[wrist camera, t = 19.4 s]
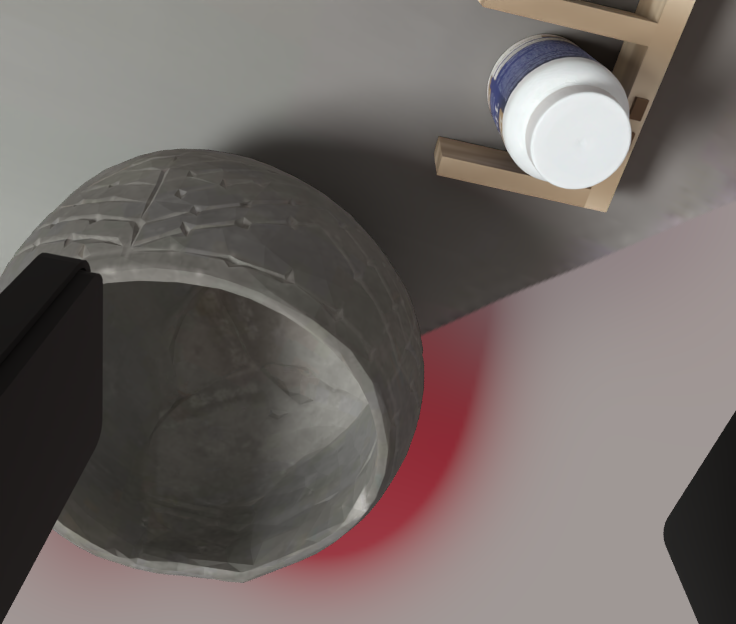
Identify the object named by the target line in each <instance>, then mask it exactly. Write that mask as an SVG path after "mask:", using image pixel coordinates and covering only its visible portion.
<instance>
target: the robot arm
mask: <svg viewBox="0 0 736 624" xmlns="http://www.w3.org/2000/svg"><path fill="white" fill-rule="evenodd" d="M102 414H103V279H102V276H101V275H100V274H99V273H94V272H91V269H90V265H89V263H88V262H87V261H86V260H82V259H77V258H72V257H66V256H61V255H56V254H51V253H41V254H39V255H38V256H37V257H36V258H35V259H34V260H33V261H32V262H31V263H30V264H29V265H28V266H27V267H26V268H25V269H24V270H23V271H22V272H21V273H20V274H19V275H18V276H17V277H16V278H15V279H14V280H13V281H12V282H11V283H10V284H9V285H8V286H7V287H6V288H5V289H4V290H3V291H2V292H1V293H0V624H2V622H3V620H4V618H5V616H6V615H7V613H8V610H9V609H10V607H11V605H12V603H13V601H14V600H15V598H16V596H17V594H18V592H19V590H20V588H21V586H22V585H23V583H24V581H25V579H26V577H27V575H28V573H29V571H30V570H31V568H32V566H33V564H34V562H35V560H36V558H37V557H38V555H39V552H40V551H41V549H42V547H43V545H44V544H45V542H46V540H47V538H48V536H49V534H50V532H51V530H52V529H53V527H54V525H55V523H56V521H57V519H58V517H59V515H60V514H61V512H62V510H63V508H64V506H65V504H66V502H67V501H68V499H69V497H70V495H71V493H72V491H73V489H74V487H75V486H76V484H77V482H78V480H79V478H80V476H81V474H82V473H83V471H84V469H85V467H86V465H87V463H88V461H89V459H90V458H91V456H92V454H93V452H94V450H95V448H96V446H97V444H98V441H99V438H100V434H101V429H102ZM664 541H665V545H666V548H667V550H668V552H669V555H670V557H671V560H672V562H673V564H674V566H675V569H676V571H677V574H678V576H679V578H680V581H681V583H682V585H683V588H684V590H685V592H686V595H687V597H688V599H689V602H690V604H691V607H692V609H693V611H694V614H695V616H696V618H697V621H698V623H699V624H736V411H735V413H734V415H733V416H732V417H731V419H730V421H729V422H728V424H727V425H726V427H725V429H724V431H723V432H722V433H721V435H720V436H719V438H718V440H717V441H716V443H715V444H714V446H713V447H712V449H711V451H710V452H709V454H708V455H707V457H706V458H705V460H704V462H703V463H702V465H701V466H700V468H699V469H698V471H697V473H696V474H695V476H694V477H693V479H692V480H691V482H690V484H689V485H688V487H687V488H686V490H685V491H684V493H683V495H682V496H681V498H680V499H679V501H678V502H677V504H676V506H675V507H674V509H673V510H672V512H671V513H670V515H669V517H668V518H667V520H666V522H665V527H664Z"/></svg>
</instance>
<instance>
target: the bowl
mask: <svg viewBox="0 0 736 624" xmlns="http://www.w3.org/2000/svg"><path fill="white" fill-rule="evenodd" d="M41 253H51V254H56V255H61V256H66V257H72V258H77V259H82V260H86V261H87V262H88V263H89V265H90V269H91V272H94V273H99V274H100V275H101V276H102V279H103V414H102V429H101V434H100V438H99V441H98V444H97V446H96V448H95V450H94V452H93V454H92V456H91V458H90V459H89V461H88V463H87V465H86V467H85V469H84V471H83V473H82V474H81V476H80V478H79V480H78V482H77V484H76V486H75V487H74V489H73V491H72V493H71V495H70V497H69V499H68V501H67V502H66V504H65V506H64V508H63V510H62V512H61V514H60V515H59V517H58V519H57V521H56V523H55V525H54V527H53V530H54V531H56V532H57V533H58V534H60V535H61V536H62V537H64V538H66V539H67V540H69V541H70V542H71V543H73V544H74V545H76V546H78V547H80V548H82V549H84V550H86V551H87V552H89V553H91V554H93V555H95V556H98V557H101V558H104V559H107V560H110V561H113V562H116V563H120V564H122V565H125V566H128V567H132V568H136V569H140V570H144V571H149V572H153V573H159V574H169V575H182V576H190V577H198V578H207V579H216V580H222V581H228V582H240V583H244V582H246V581H249V580H252V579H255V578H257V577H260V576H263V575H265V574H268V573H271V572H273V571H276V570H278V569H281V568H283V567H286V566H288V565H291V564H294V563H296V562H299V561H301V560H303V559H305V558H308V557H310V556H312V555H314V554H317V553H318V552H320V551H321V550H323V549H325V548H326V547H328V546H329V545H331V544H332V543H334V542H335V541H336V540H338V539H339V538H341V537H342V536H343V535H344V534H346V533H347V532H348V531H349V530H351V529H352V528H353V527H354V526H355V525H357V524H358V523H359V522H360V521H361V520H362V519H363V518H364V517H365V516H366V515H367V514H368V513H369V512H370V511H371V510H372V508H373V507H374V506H375V505H376V504H377V502H378V501H379V500H380V498H381V497H382V495H383V494H384V492H385V491H386V489H387V488H388V486H389V485H390V483H391V482H392V480H393V478H394V477H395V475H396V473H397V471H398V470H399V468H400V466H401V464H402V462H403V460H404V458H405V457H406V455H407V452H408V450H409V447H410V444H411V441H412V438H413V435H414V433H415V430H416V427H417V422H418V419H419V415H420V409H421V403H422V396H423V390H424V361H423V357H422V353H423V347H422V342H421V336H420V330H419V325H418V321H417V318H416V315H415V312H414V308H413V305H412V302H411V300H410V297H409V295H408V292H407V290H406V288H405V286H404V284H403V282H402V281H401V279H400V277H399V276H398V274H397V273H396V271H395V270H394V268H393V266H392V265H391V263H390V262H389V260H388V259H387V257H386V256H385V254H384V253H383V252H382V251H381V249H380V248H379V246H378V245H377V243H376V242H375V241H374V240H373V239H372V238H371V237H370V235H369V234H368V233H367V232H366V231H365V230H364V229H363V228H362V227H361V226H360V224H359V223H358V222H356V221H355V219H354V218H353V217H352V216H351V215H350V214H349V213H348V212H346V211H345V210H344V209H343V208H341V207H340V206H339V205H337V204H336V203H335V202H334V201H332V200H331V199H330V198H329V197H327V196H326V195H325V194H323V193H322V192H320V191H319V190H317V189H315V188H314V187H312V186H310V185H309V184H307V183H305V182H303V181H302V180H300V179H298V178H296V177H294V176H292V175H290V174H288V173H286V172H283V171H281V170H279V169H277V168H275V167H273V166H271V165H268V164H265V163H263V162H260V161H257V160H254V159H251V158H247V157H243V156H239V155H235V154H230V153H224V152H218V151H212V150H201V149H174V150H163V151H157V152H153V153H149V154H144V155H140V156H138V157H135V158H133V159H130V160H128V161H125V162H123V163H120V164H118V165H115V166H113V167H110V168H108V169H106V170H104V171H102V172H101V173H99V174H98V175H96V176H95V177H93V178H92V179H90V180H88V181H87V182H85V183H84V184H83V185H82V186H80V187H79V188H78V189H77V190H75V191H74V192H73V193H72V194H71V195H70V196H69V197H68V198H67V199H66V200H65V201H64V202H63V203H62V204H61V205H59V206H58V207H57V208H56V209H55V210H54V211H53V212H52V213H50V214H49V215H48V216H47V217H46V218H45V219H44V220H43V221H42V223H41V224H40V225H39V226H38V227H37V228H36V229H35V230H34V231H33V232H32V234H31V235H30V236H29V237H28V239H27V240H26V241H25V242H24V243H23V244H22V246H21V247H20V248H19V249H18V250H17V252H16V253H15V255H14V257H13V258H12V259H11V261H10V262H9V263H8V264H7V266H6V268H5V270H4V272H3V274H2V276H1V277H0V293H1V292H2V291H3V290H4V289H5V288H6V287H7V286H8V285H9V284H10V283H11V282H12V281H13V280H14V279H15V278H16V277H17V276H18V275H19V274H20V273H21V272H22V271H23V270H24V269H25V268H26V267H27V266H28V265H29V264H30V263H31V262H32V261H33V260H34V259H35V258H36V257H37V256H38V255H39V254H41Z"/></svg>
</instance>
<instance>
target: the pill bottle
mask: <svg viewBox="0 0 736 624" xmlns="http://www.w3.org/2000/svg"><path fill="white" fill-rule="evenodd" d="M487 98H488V104H489V108H490V112H491V115H492V117H493V119H494V121H495V124H496V126H497V129H498V131H499V133H500V135H501V138H502V140H503V142H504V144H505V147H506V149H507V151H508V153H509V154H510V156H511V158H512V159H513V160H514V162H515V163H516V164H517V165H518V166H519V167H520V168H521V169H522V170H523V171H524V172H526V173H527V174H529V175H531V176H532V177H534V178H537V179H539V180H543V181H546V182H549V183H551V184H553V185H555V186H557V187H561V188H565V189H583V188H587V187H591V186H594V185H596V184H598V183H600V182H602V181H604V180H605V179H607V178H608V177H610V176H611V175H612V174H613V173H614V172H615V171H616V170H617V169H618V168H619V166H620V165H621V164H622V162H623V161H624V159H625V157H626V155H627V153H628V151H629V147H630V144H631V125H630V121H629V103H628V99H627V96H626V93H625V91H624V89H623V87H622V85H621V84H620V82H619V81H618V79H617V78H616V77H615V76H614V75H613V74H612V73H611V72H610V71H609V70H608V69H607V68H606V67H605V66H603V65H602V64H601V63H599V62H598V61H597V60H595V59H594V58H593V57H591V56H590V55H589V54H587V53H586V52H585V51H584V50H582V49H581V48H580V47H578V46H577V45H576V44H574V43H573V42H571V41H569V40H567V39H565V38H563V37H560V36H557V35H551V34H541V35H535V36H530V37H528V38H525V39H523V40H521V41H519V42H517V43H516V44H514V45H513V46H511V47H510V48H509V49H508V50H506V51H505V52H504V54H503V55H502V56H501V57H500V58H499V60H498V61H497V63H496V64H495V66H494V68H493V70H492V72H491V75H490V78H489V81H488V88H487Z"/></svg>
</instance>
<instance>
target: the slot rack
mask: <svg viewBox="0 0 736 624" xmlns="http://www.w3.org/2000/svg"><path fill="white" fill-rule="evenodd" d="M478 1H479V2H480V4H481V5H482V6H483V7H486V8H490V9H495V10H499V11H503V12H507V13H511V14H515V15H519V16H524V17H528V18H532V19H536V20H540V21H544V22H549V23H553V24H557V25H561V26H565V27H569V28H574V29H578V30H582V31H586V32H590V33H594V34H599V35H603V36H607V37H611V38H615V39H619V40H624V43H623V45H622V48H621V51H620V53H619V56H618V58H617V61H616V64H615V66H614V69H613V71H612V74H613V75H614V76H615V77H616V78H617V79H618V81H619V82H620V84H621V85H622V87H623V89H624V91H625V93H626V96H627V99H628V103H629V121H630V125H631V144H630V147H629V151H628V153H627V155H626V157H625V159H624V161H623V162H622V164H621V165H620V166H619V168H618V169H617V170H616V171H615V172H614V173H613V174H612V175H611V176H610V177H608V178H607V179H605V180H604V181H602V182H600V183H598V184H596V185H594V186H591V187H587V188H583V189H565V188H561V187H557V186H555V185H553V184H551V183H549V182H546V181H543V180H539V179H537V178H534V177H532V176H531V175H529V174H527V173H526V172H524V171H523V170H522V169H521V168H520V167H519V166H518V165H517V164H516V163H515V162H514V160H513V159H512V158H511V156H510V154H509V153H508V152H506V151H502V150H498V149H493V148H489V147H484V146H480V145H475V144H471V143H466V142H462V141H458V140H453V139H449V138H444V137H440V136H439V137H438V140H437V144H436V148H435V152H434V158H435V165H436V172H437V175H439V176H443V177H448V178H452V179H457V180H461V181H466V182H471V183H475V184H480V185H484V186H489V187H493V188H498V189H502V190H507V191H511V192H516V193H520V194H525V195H529V196H534V197H538V198H543V199H548V200H552V201H557V202H561V203H566V204H570V205H575V206H579V207H584V208H588V209H593V210H597V211H602V212H607V209H608V207H609V205H610V202H611V200H612V198H613V195H614V193H615V190H616V188H617V186H618V183H619V181H620V179H621V176H622V174H623V171H624V169H625V167H626V164H627V162H628V160H629V157H630V155H631V152H632V150H633V148H634V145H635V143H636V141H637V138H638V136H639V134H640V131H641V129H642V126H643V124H644V122H645V119H646V117H647V115H648V112H649V110H650V107H651V105H652V103H653V100H654V98H655V96H656V93H657V91H658V88H659V86H660V84H661V81H662V79H663V77H664V74H665V72H666V69H667V67H668V65H669V62H670V60H671V58H672V55H673V53H674V51H675V48H676V46H677V43H678V41H679V39H680V36H681V34H682V32H683V29H684V27H685V24H686V22H687V20H688V17H689V15H690V13H691V10H692V8H693V5H694V3H695V1H696V0H640V1H639V4H638V6H637V9H636V11H635V13H631V12H627V11H623V10H619V9H615V8H611V7H607V6H603V5H599V4H594V3H590V2H586V1H582V0H478Z"/></svg>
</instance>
